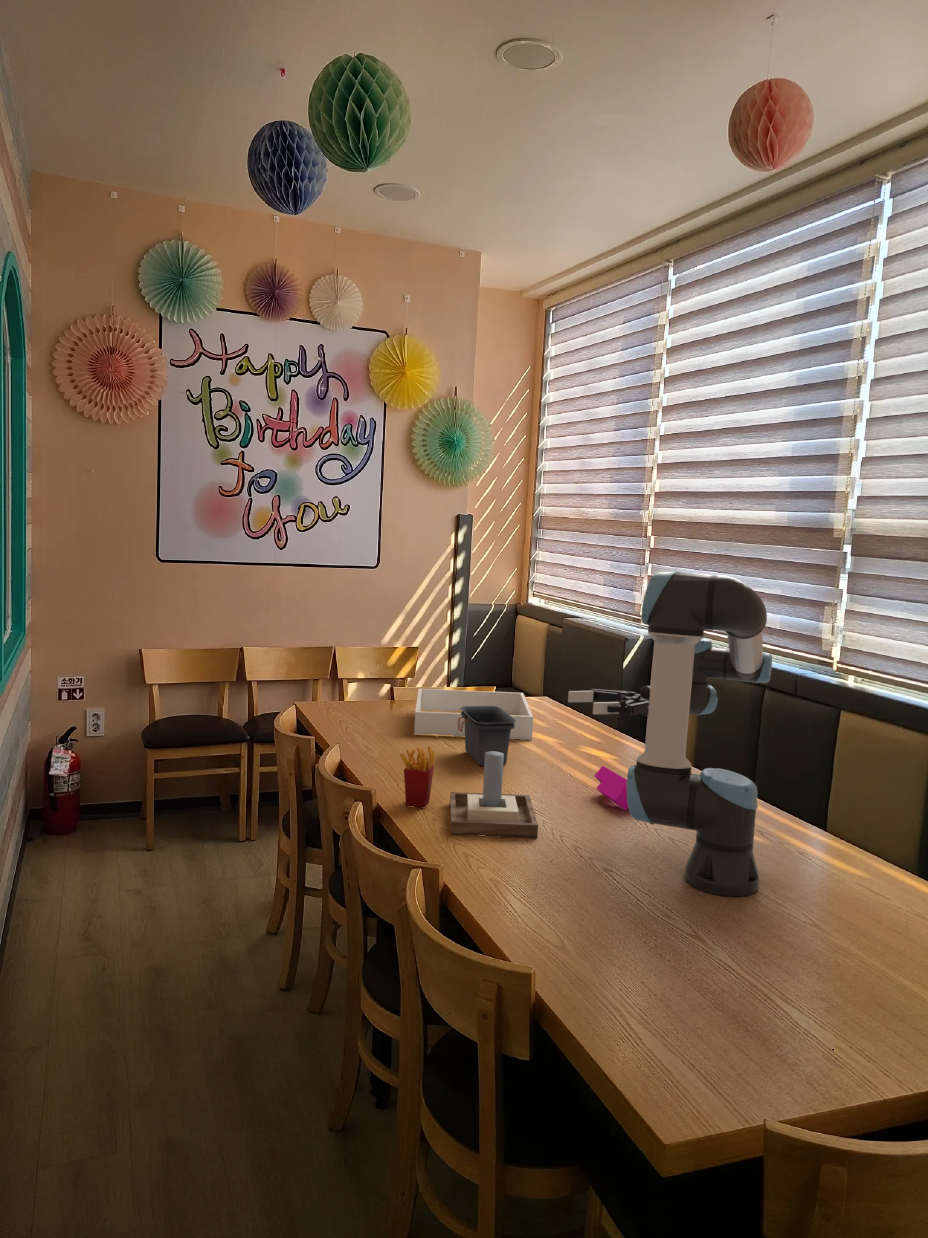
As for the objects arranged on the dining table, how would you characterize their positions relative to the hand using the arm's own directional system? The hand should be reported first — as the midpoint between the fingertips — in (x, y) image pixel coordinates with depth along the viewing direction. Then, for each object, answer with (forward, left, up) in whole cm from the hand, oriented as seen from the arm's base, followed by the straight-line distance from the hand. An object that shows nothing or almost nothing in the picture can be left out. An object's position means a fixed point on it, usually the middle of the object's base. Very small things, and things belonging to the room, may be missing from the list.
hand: (580, 702), depth 219 cm
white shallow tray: (+101, +22, -31) cm, 108 cm away
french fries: (+12, +39, -31) cm, 51 cm away
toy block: (+19, -12, -25) cm, 34 cm away
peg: (+2, +20, -30) cm, 36 cm away
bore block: (+1, +20, -31) cm, 37 cm away
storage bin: (+56, +20, -31) cm, 67 cm away
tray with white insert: (+1, +20, -31) cm, 37 cm away
